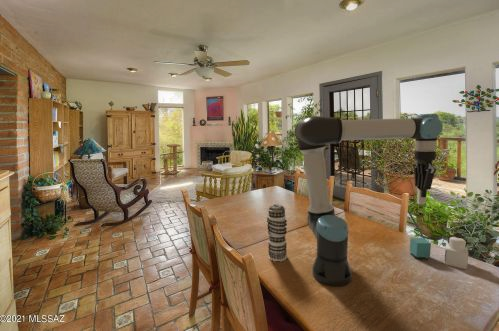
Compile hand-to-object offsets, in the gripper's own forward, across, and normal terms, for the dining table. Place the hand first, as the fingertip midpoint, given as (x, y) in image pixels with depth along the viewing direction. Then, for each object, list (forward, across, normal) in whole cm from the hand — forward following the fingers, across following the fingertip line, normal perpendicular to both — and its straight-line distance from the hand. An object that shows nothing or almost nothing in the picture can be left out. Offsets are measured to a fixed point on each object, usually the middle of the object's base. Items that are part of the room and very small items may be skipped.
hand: (421, 203), depth 108 cm
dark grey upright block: (+25, 0, 0) cm, 25 cm away
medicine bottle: (+25, -5, -12) cm, 29 cm away
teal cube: (+24, 0, -1) cm, 24 cm away
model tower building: (+26, -5, +64) cm, 69 cm away
